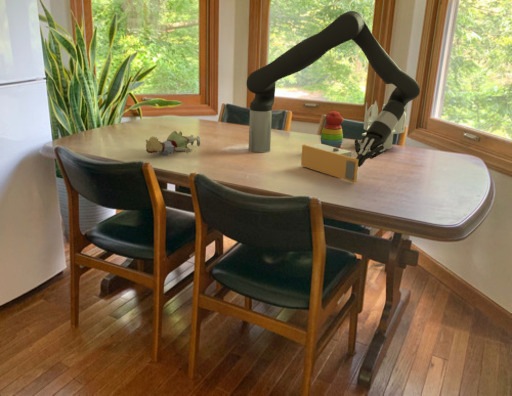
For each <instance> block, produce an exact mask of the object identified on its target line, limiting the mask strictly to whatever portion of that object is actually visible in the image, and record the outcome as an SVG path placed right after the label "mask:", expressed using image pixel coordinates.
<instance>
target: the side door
mask: <svg viewBox="0 0 512 396" xmlns="http://www.w3.org/2000/svg"><path fill="white" fill-rule="evenodd" d="M308 145H309V144H308ZM308 145H307V144H302V145H301V161H300V163H301V164H300V166H302V167H304V168H308V169H311V170H312V171H313V170H314V171H317V172H319V171H320V173H323V174H326V175H329V176H332V177H335V178H338V179H342V180H345V181H348V182H351V183H357V179H358V170H359V169H358V168H359V167H358V161H359V159H356V158H357V157H356V158H355V157H352V156H351V157H348V156H345V155H341V154H337V153H334V152H330V151H326V150H323V149H319V148H315V147H312V146H308Z"/></svg>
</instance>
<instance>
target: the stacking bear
mask: <svg viewBox="0 0 512 396" xmlns="http://www.w3.org/2000/svg"><path fill="white" fill-rule="evenodd" d="M344 121H345V120H344V117H342V115H341V113H340V112H339V111H335V110H331V111H329V112H327V113H326V116H325V122H326V124H325V125H324V126H323V128H322V131H321V133H320V144H324V145H328V146H332V147H336V148H339V149H343V150H344V148H343V147H342V143H343V140H344V133H343V128H342V127H343V126H342V125H341V124H342V123H344Z"/></svg>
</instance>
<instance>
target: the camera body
mask: <svg viewBox="0 0 512 396" xmlns="http://www.w3.org/2000/svg"><path fill="white" fill-rule="evenodd" d="M308 146H312V147H315V148H319V149H323V150H326V151H330V152H334V153H337V154H341V155H345V156H348V157H352V153H353V152H352V151H351V150H347V149H344V148H343V149H339V148H336V147H332V146H328V145H324V144H321V142H320V143H314V144H308ZM318 172H320V171H318ZM320 173H321V172H320Z"/></svg>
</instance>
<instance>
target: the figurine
mask: <svg viewBox="0 0 512 396" xmlns="http://www.w3.org/2000/svg"><path fill="white" fill-rule="evenodd" d="M195 141H196V146H197V147H200V146H201V139H200V135H198V136H196V137H194V135H193V134H190V136H188V135H183V132H182V131H179V132H177V131H176V130H174V131H172V132H171V133H170V134H169V136H168V137H167V138H166V140H165V141H162V142H161V140H159V138H158V137H157V136H150V138H149V139H146V140H145V143H146V144H145V148H146V150H145V151H146V152H147V153H149V154H155V153H158V152H159V153H160V154H162V155H165V154H169V155H170V154H171V153H175V152H176V151H177V152H179V151H180V152H181V151H182V152H184V153H185V152H186V154H188V155H189V154H190V153H192V151H193V149H191V148H190V147H188V145H189V144H190V145H191V146H193V145H194V143H195Z"/></svg>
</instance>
